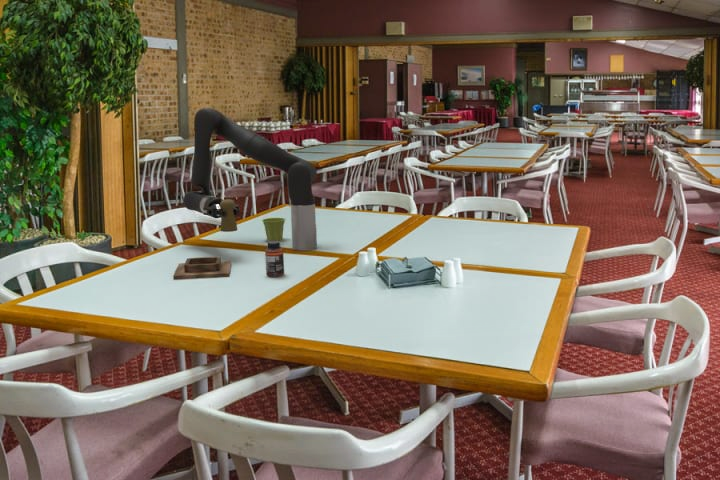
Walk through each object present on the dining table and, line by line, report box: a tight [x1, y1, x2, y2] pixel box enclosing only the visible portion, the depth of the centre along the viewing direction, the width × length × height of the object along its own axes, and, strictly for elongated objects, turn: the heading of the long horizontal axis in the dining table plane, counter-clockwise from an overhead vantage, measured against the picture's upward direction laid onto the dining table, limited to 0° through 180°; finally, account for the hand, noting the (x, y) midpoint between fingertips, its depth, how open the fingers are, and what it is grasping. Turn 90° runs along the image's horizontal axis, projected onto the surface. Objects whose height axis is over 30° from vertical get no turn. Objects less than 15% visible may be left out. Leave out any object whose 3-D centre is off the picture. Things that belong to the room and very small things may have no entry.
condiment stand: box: [172, 256, 232, 280], centre depth 254 cm, size 18×18×4 cm
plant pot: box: [261, 217, 286, 242], centre depth 304 cm, size 9×9×9 cm
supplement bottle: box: [264, 241, 285, 278], centre depth 247 cm, size 6×6×11 cm
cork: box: [220, 198, 238, 233], centre depth 267 cm, size 6×6×11 cm
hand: (231, 213), depth 265 cm, fingers closed on cork, 4 cm apart
